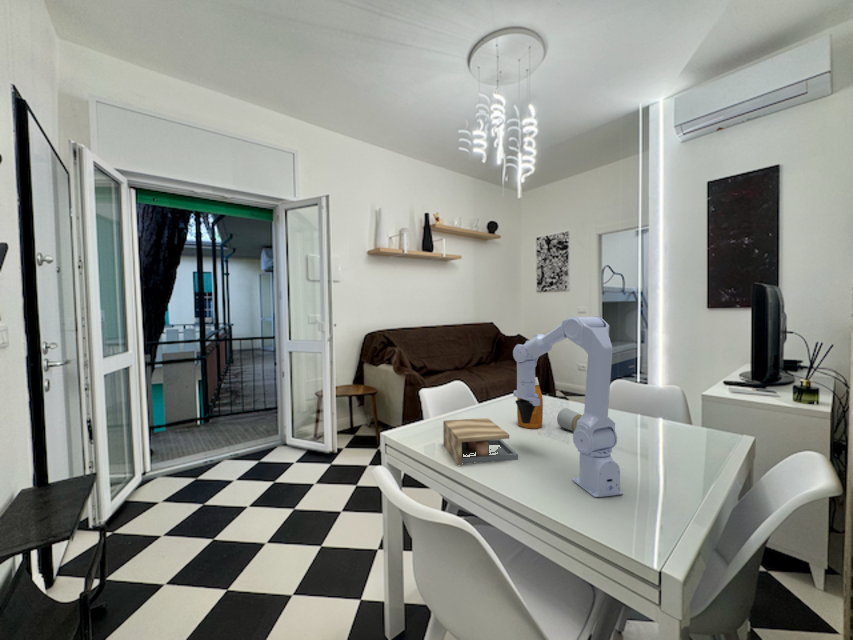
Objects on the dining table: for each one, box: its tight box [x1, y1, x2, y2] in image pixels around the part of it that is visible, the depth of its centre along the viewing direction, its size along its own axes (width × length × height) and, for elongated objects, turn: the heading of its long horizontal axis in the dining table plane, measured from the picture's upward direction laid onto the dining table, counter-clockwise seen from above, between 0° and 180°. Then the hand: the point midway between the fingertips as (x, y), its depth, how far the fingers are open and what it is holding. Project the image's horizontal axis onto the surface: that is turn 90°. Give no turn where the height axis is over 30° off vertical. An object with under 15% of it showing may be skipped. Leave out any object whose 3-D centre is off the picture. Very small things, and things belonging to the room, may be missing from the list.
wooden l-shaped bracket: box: [442, 417, 510, 466], centre depth 115 cm, size 18×16×8 cm
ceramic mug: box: [556, 407, 583, 433], centre depth 138 cm, size 11×8×8 cm
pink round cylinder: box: [476, 441, 489, 456], centre depth 111 cm, size 4×4×4 cm
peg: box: [468, 441, 477, 451], centre depth 118 cm, size 4×4×4 cm
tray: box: [462, 439, 519, 464], centre depth 114 cm, size 14×18×2 cm
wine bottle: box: [516, 376, 544, 430], centre depth 143 cm, size 10×10×30 cm
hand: (526, 422), depth 116 cm, fingers closed
